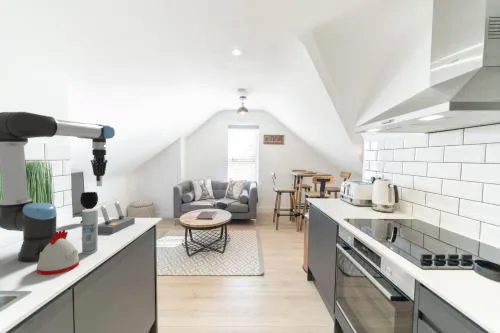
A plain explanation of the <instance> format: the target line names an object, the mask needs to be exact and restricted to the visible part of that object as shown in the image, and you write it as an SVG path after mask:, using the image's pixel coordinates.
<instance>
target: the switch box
mask: <svg viewBox="0 0 500 333" xmlns="http://www.w3.org/2000/svg"><path fill="white" fill-rule="evenodd" d="M135 219H136V218H135V217H128V216H127V217H126V216H124V218H122V219H119V216H116V217H114V218H112V219H109V220H110V221H111V223H109V224H107V225H106V224H105V221H103V222H101V223H98V234H108V235H109V234H110V235H111V234H115V233H117V232H119V231H122V230H124V229H126V228H128V227H130V226H132V225H135V224H136V223H135V221H136V220H135Z"/></svg>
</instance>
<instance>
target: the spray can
mask: <svg viewBox="0 0 500 333" xmlns="http://www.w3.org/2000/svg"><path fill="white" fill-rule="evenodd" d="M81 221H82V223H81V238H82V239H81V244H82V245H81V246H82V247H81V248H82V249H81V250H82V254H85V255H86V254H87V255H88V254H94V253H96V252H97V251H98V247H99V246H98V244H99V243H98V241H99V240H98V239H99V237H98V236H99V235H98V234H99V233H98V224H99V222H98V221H99V209H98V208H92V209H86V208H84V209H82V210H81Z"/></svg>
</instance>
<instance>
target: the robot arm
mask: <svg viewBox="0 0 500 333" xmlns="http://www.w3.org/2000/svg"><path fill="white" fill-rule="evenodd" d="M115 133H116V131H115V128H114V127H113V126H112V125H104V124H101V123H100V124H96V123H94V124H93V123H85V122H77V121H70V120H62V119H56V118H55V117H53V116H49V115H43V114H38V113H33V112H28V111H2V112H0V176H1V177H0V178H1V181H0V182H1V189H2V190H1V192H2V199H1V201H0V229H3V230H6V231H15V232H16V231H17V232H22V233H23V235H22V236H23V239H22V241H23V242H22V244H21V245H20V246H21V247H20V249H19V250H20V251H19V252H18V255H17V259H18V261H19V262H23V263H29V262H30V263H31V262H32V263H33V262H38V261H39V258H40V252H42V251H43V250H44V248H45V247H46V246H47V245H48V244H49V243H50V241H49V240H52V241H53V237H52V236H55V234H56V232H57V214H58V213H57V208H56V206H55V205H54V204H53V203H48V202H34V201H33V198H31V197H29V193H28V192H29V190H28V179H27V166H26V157H25V156H26V154H25V153H26V152H25V146H26V145H27V144H28V143H29V139H33V138H53V137H54V136H61V137H62V136H63V137H75V138H79V139H86V140H92V146H91V147H92V150H91V152H92V156H93V159H91V160H90V164H91V166H92V172H93V175H94V176H95V177H96V180H95V181H96V187H103V176H105V175H106V171H107V170H106V168H107V163H108V160H107V159H106V157H105V156H106V155H107V150H106V149H107V140H108V139H110V140H111V139H112V138H114V136H115V135H116V134H115Z"/></svg>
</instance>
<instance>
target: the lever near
mask: <svg viewBox="0 0 500 333" xmlns="http://www.w3.org/2000/svg"><path fill="white" fill-rule="evenodd" d="M100 211H101V213H102V214H101V215H102V217H103V219H104V222H105V224H106V225H107V224H109V223H111V221H110V220H111V219H110V218H109V214H108V212H107V208H106V206H105V205H101V206H100Z"/></svg>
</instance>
